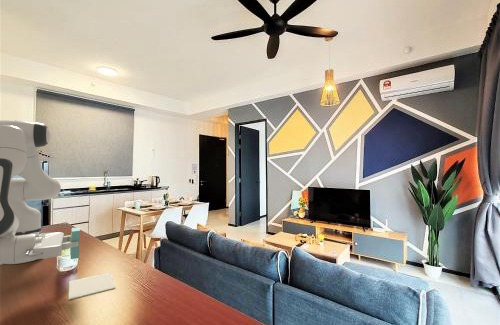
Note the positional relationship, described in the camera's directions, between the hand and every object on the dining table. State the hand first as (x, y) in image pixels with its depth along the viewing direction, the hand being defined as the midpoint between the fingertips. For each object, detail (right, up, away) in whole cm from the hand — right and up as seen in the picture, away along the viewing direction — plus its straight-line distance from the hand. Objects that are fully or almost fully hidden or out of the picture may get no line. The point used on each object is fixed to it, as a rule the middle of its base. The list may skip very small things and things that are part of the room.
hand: (78, 240), depth 90 cm
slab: (-1, -5, -1) cm, 6 cm away
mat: (+4, -18, +1) cm, 18 cm away
